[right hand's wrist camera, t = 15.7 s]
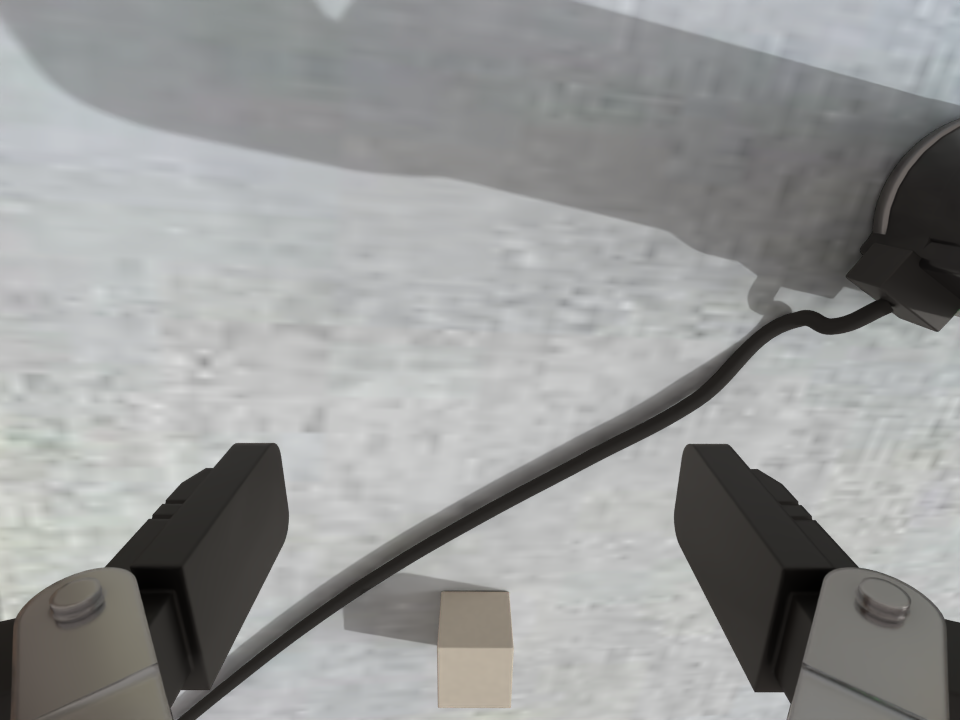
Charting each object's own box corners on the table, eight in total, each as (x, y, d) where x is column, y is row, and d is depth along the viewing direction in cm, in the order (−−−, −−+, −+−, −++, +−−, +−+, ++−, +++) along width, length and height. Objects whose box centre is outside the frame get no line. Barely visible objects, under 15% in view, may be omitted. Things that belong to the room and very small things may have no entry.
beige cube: (509, 591, 38) (513, 648, 34) (506, 647, 40) (510, 708, 35) (441, 590, 38) (437, 647, 34) (441, 647, 40) (437, 708, 35)
